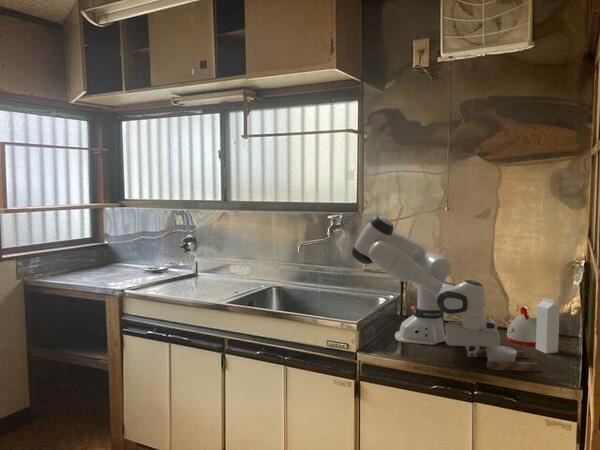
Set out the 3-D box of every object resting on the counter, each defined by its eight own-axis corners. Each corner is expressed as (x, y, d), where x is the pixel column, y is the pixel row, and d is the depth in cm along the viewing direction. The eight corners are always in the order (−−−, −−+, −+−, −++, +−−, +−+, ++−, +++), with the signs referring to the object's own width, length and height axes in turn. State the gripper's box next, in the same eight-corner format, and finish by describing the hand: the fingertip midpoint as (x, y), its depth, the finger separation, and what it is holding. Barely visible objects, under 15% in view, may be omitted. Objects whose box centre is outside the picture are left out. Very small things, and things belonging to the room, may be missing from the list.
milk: (546, 353, 204) (547, 301, 202) (535, 349, 209) (536, 297, 207) (558, 352, 205) (559, 299, 203) (547, 347, 211) (548, 296, 209)
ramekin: (523, 366, 190) (523, 352, 190) (498, 369, 187) (498, 356, 186) (503, 356, 201) (503, 344, 200) (479, 359, 198) (479, 346, 197)
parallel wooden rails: (487, 369, 187) (488, 363, 186) (477, 355, 202) (477, 349, 202) (537, 371, 185) (538, 364, 185) (523, 356, 201) (523, 350, 200)
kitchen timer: (534, 336, 227) (535, 304, 226) (546, 346, 213) (547, 311, 212) (502, 335, 228) (503, 303, 227) (512, 345, 214) (513, 311, 213)
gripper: (446, 323, 192) (446, 358, 193) (501, 324, 189) (500, 360, 191) (443, 319, 198) (443, 353, 199) (496, 320, 196) (496, 354, 197)
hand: (471, 356), depth 195 cm, fingers closed
